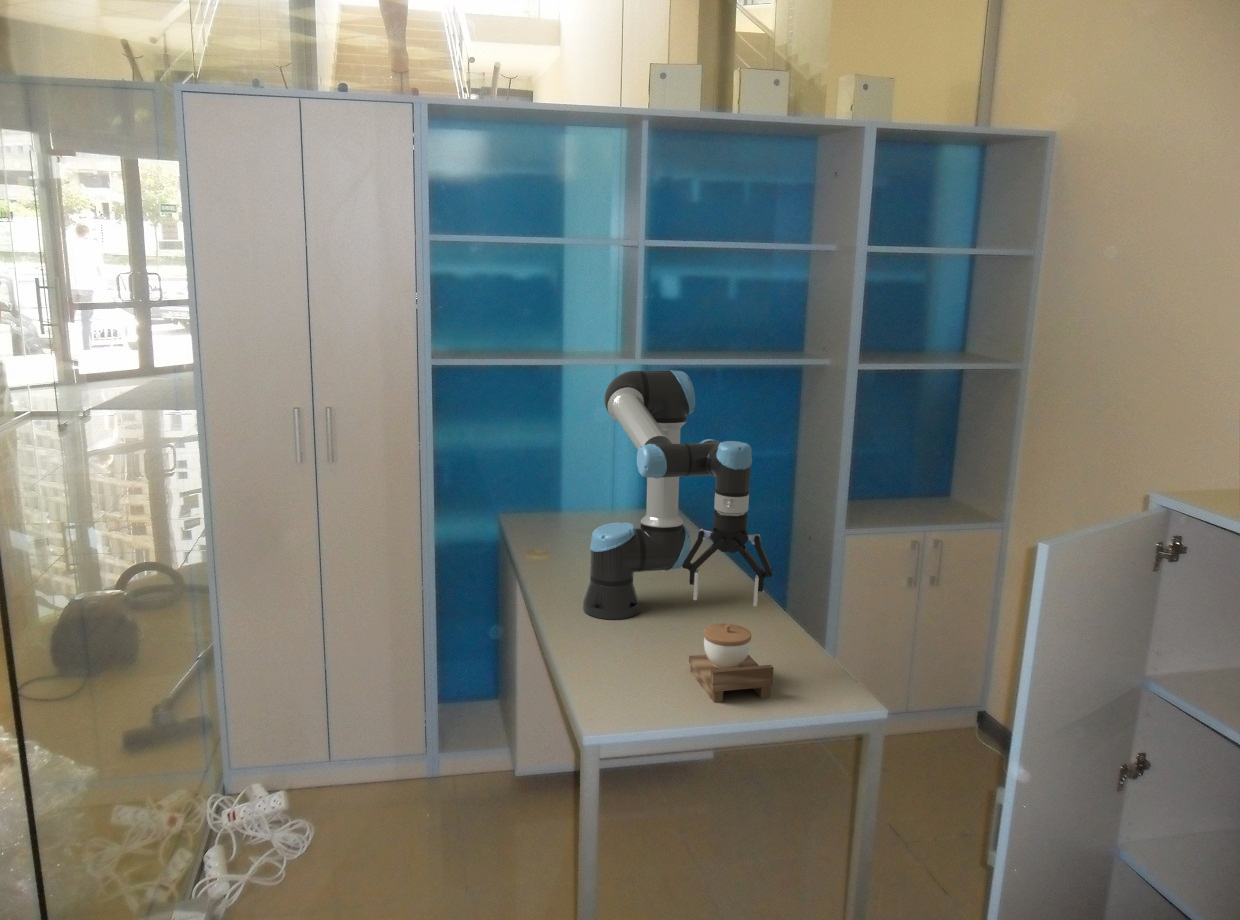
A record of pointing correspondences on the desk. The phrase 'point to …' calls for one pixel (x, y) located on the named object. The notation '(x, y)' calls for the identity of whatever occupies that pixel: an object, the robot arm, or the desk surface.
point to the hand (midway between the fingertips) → (725, 601)
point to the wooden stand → (731, 677)
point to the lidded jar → (726, 645)
